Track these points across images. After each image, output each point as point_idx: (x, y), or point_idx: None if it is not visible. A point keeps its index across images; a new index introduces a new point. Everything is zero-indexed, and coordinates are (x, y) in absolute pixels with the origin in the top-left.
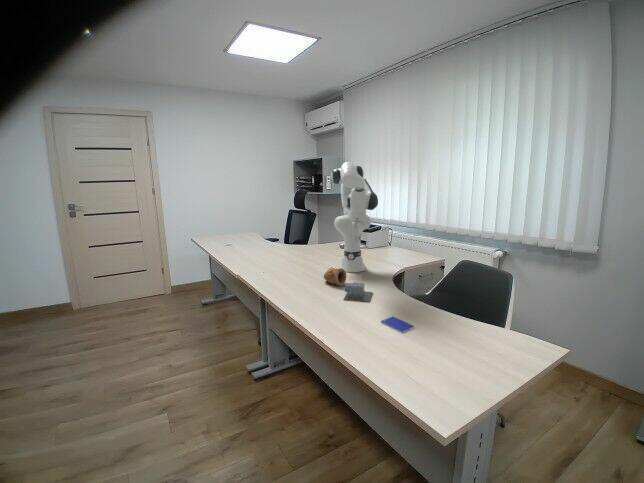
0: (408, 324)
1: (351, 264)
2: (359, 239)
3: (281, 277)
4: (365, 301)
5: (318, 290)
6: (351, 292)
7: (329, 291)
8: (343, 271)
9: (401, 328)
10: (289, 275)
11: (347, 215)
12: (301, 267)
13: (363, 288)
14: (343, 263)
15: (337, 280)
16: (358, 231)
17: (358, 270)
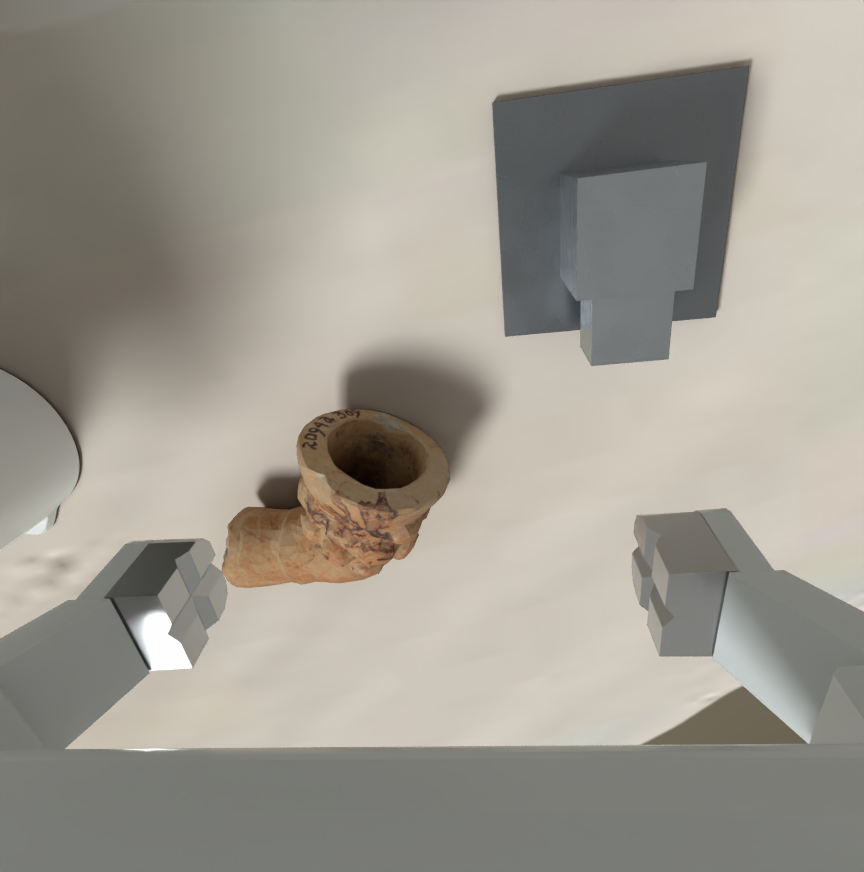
0: None
1: (7, 464)
2: (207, 567)
3: (388, 745)
4: (739, 112)
5: (544, 526)
6: (551, 297)
7: (545, 459)
8: (335, 466)
9: None
10: (338, 726)
11: None
12: (169, 718)
13: (649, 167)
14: (15, 530)
15: (439, 460)
16: None
17: (6, 385)
